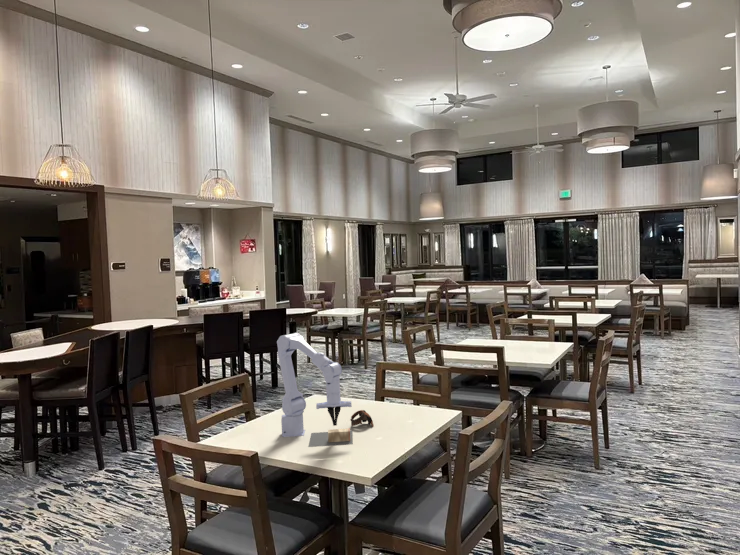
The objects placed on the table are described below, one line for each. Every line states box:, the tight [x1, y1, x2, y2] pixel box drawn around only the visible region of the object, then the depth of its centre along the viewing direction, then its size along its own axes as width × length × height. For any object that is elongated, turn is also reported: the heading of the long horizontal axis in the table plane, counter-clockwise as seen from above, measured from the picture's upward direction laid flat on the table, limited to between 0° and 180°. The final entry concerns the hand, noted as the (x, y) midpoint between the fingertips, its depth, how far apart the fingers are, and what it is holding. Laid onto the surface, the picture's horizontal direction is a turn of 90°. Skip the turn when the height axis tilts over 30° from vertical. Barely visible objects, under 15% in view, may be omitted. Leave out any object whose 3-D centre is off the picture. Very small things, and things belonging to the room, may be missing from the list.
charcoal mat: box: [307, 429, 354, 448], centre depth 226 cm, size 18×18×1 cm
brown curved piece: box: [349, 409, 374, 428], centre depth 243 cm, size 12×10×8 cm
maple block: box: [327, 427, 351, 442], centre depth 223 cm, size 4×4×9 cm
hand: (335, 424), depth 223 cm, fingers closed
